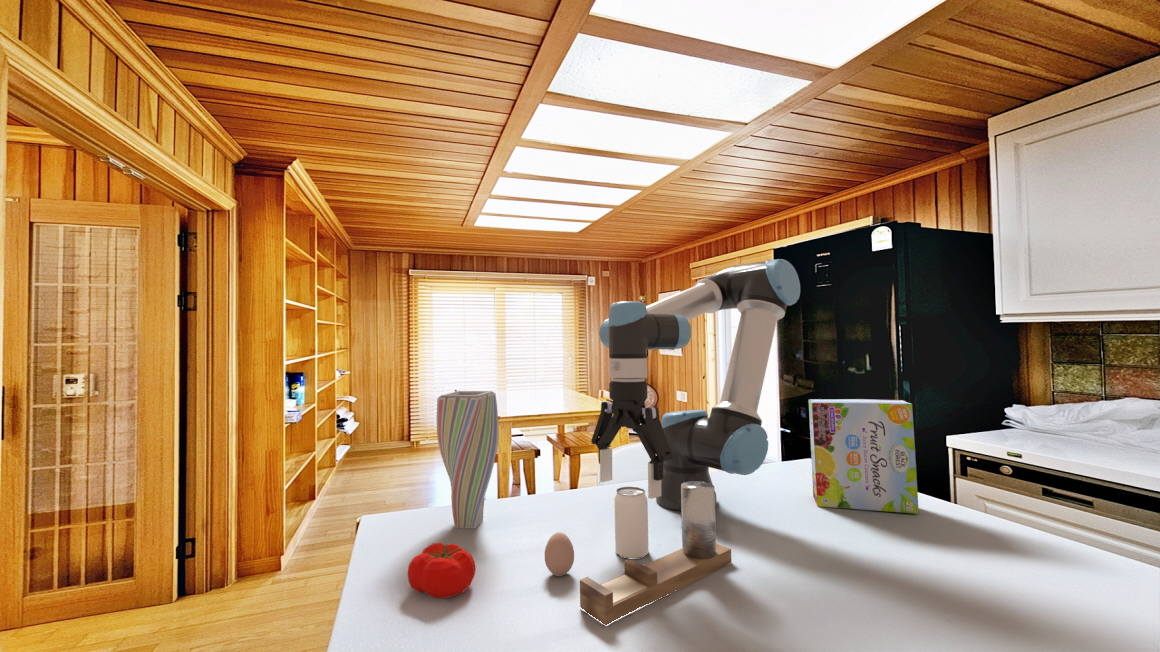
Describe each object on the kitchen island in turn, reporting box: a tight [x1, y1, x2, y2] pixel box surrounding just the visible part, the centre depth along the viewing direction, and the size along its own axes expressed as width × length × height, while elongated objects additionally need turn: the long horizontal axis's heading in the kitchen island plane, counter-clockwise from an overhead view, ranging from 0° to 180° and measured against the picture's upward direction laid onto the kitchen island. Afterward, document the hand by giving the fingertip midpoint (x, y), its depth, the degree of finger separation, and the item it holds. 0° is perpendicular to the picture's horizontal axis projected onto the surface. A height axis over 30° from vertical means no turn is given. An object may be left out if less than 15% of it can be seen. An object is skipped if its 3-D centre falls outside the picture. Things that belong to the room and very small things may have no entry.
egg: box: [544, 531, 575, 577], centre depth 85 cm, size 5×5×7 cm
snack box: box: [808, 398, 920, 515], centre depth 117 cm, size 22×9×26 cm, turn 71°
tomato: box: [407, 542, 476, 599], centre depth 81 cm, size 10×11×6 cm
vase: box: [435, 390, 499, 529], centre depth 110 cm, size 14×14×30 cm
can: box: [614, 485, 649, 559], centre depth 94 cm, size 6×6×12 cm
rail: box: [579, 542, 732, 625], centre depth 81 cm, size 6×31×4 cm, turn 128°
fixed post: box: [681, 481, 717, 560], centre depth 88 cm, size 6×6×12 cm
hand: (629, 488), depth 94 cm, fingers open, 13 cm apart
